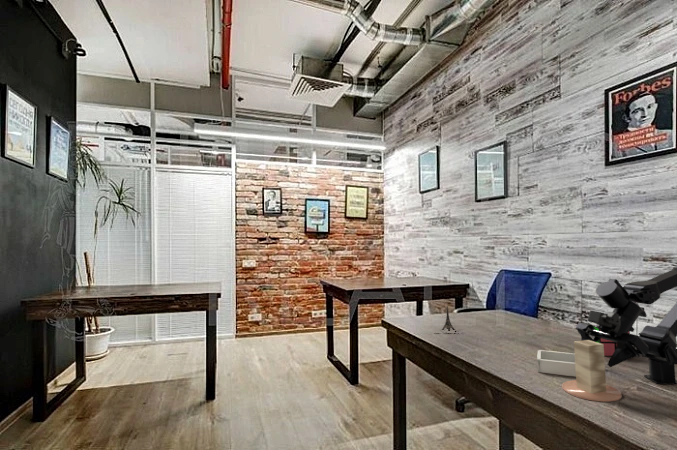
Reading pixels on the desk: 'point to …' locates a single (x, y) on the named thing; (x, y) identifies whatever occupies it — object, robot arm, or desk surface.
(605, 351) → the puzzle cube
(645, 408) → the desk surface
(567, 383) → the terracotta pad
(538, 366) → the walled channel
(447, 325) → the eiffel tower figurine
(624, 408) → the desk surface
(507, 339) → the desk surface
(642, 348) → the robot arm
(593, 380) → the birch block
